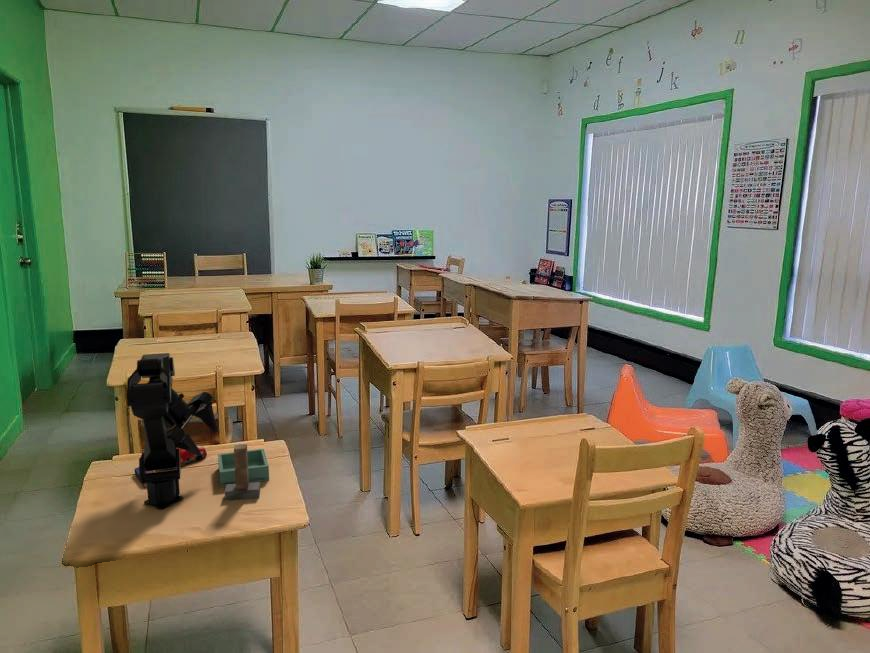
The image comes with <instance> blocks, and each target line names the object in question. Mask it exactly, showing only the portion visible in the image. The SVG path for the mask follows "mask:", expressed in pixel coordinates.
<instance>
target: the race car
mask: <svg viewBox="0 0 870 653" xmlns="http://www.w3.org/2000/svg"><path fill="white" fill-rule="evenodd" d="M196 446H197V447H198V449H199V450H200V452H201V455H200V456H197V455H194V454H192V453H190V452H188V451H185V450H183V449H180V448H179V451H180V467H183V466H185V465H189V464H192V463H194V462H200V461H202V459H205V458H207V455H208V452H207V450H206V448H205V447H204V446H202V445H196ZM169 470H176V468H171V469H165V471H169Z"/></svg>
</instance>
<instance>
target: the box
mask: <svg viewBox="0 0 870 653" xmlns="http://www.w3.org/2000/svg"><path fill="white" fill-rule="evenodd" d="M247 454H248V474H249V483H255V482H260V483H261V482H264V481H265V482H266V481H270V471H269V470H270V466H269V462H268V460H267V455H266V452H265V448H258V449H251V450H249V449H247ZM217 459H218V460H217V462H218V463H217V464H218V473H219V481H220V482H219V483H220V487H221V488H223V487H226V485H227V484H236V480H235V461H234V451H233V452H226V453H219V454H217Z"/></svg>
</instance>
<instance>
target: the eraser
mask: <svg viewBox="0 0 870 653" xmlns="http://www.w3.org/2000/svg"><path fill="white" fill-rule="evenodd" d="M153 472H155V470H154V471H146V473H153ZM134 474H135V477H136V479H137V480H138V481H139V483H140V484H141V485H142V487H143V488H145V489H147V483H145V484H142V481H140V477H139V466H138V467H136V468H134Z"/></svg>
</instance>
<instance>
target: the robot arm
mask: <svg viewBox="0 0 870 653" xmlns="http://www.w3.org/2000/svg"><path fill="white" fill-rule="evenodd" d="M175 371H176V370H175V363H174V356H172V357H171V354H170V353H169V352H166V353H165V352H164V353H149V354H142V356H141V358H140V359H139V360H136V369H134V370H133V372H132V373H131V375H130V376H129V377H128V378H127V379H126V380H127V382H126V404H127V407H129V408H130V409H131V413H132V415H133V416H134V417H136V418H138V419H141V420H142V423H143V427H144V432H145V437H146V438H145V439H144V440H145V441H144V442H145V443H144V446H143V452H141V455H140V457H139V458H138V467H139V477H140V481H142V484H145V483H147V488H146V490H147V492H146V493H147V499H145V500H144V501H143V504H144V505H148V506H150V507H153V508H156V509H158V510H164V509H166V508H168V507H170V506H172V505H174V504H176V503H178V502H180V501H182V500H184V496H182V495H180V494H181V491H180V480H181V474H182V472H181V471H182V470H181V466H180V451H179V448H180V449H183V450H185V451H188V452H190V453H192V454H194V455H197V456H200V455H201V452H200V450H199V449H198V447H197V446H198V445H196V443H195V441H194V440H193V438H192V437H191V436H190V434H189V433H187V434H186V432H185V427H186V426H187V424H188V423H189V422H190V420H191V419H192V418H193V417H195V418H197V419H198V418H199V419H200V420H201V421H202V422H203V423H204V424H205V425H206V426H207V427H208V428H209V429H210V430H211V431H213V432H214V433H216V432H218V430H219V429H218V425H217V421H216V419H215V414H214V408H213V401H212V400H213V399H214V397H213V396H212V394H210V392H208V391H207V392H206V391H202V392H200V393H198V394H196V395H195V396H193V397H192V398H191V399H190V400H189V401H188V403H187V402H186V401H185V400H184V399H183V398H184V397H185V395H184V393H183V392H181V393H180V394H179V393H178V392H177V391H176V390H175V389H174V388H173V380H174V379H173V377H175V376H176V372H175ZM142 379H148V382H146V383H144V382H143V383H140V382H141V381H142ZM168 429H170V430H168ZM171 468H175V469H172V470H169V469H171ZM166 469H168V470H166ZM162 470H164V471H162ZM146 471H154V472H153V473H146ZM140 481H139V482H140ZM142 484H141V485H142Z"/></svg>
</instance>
